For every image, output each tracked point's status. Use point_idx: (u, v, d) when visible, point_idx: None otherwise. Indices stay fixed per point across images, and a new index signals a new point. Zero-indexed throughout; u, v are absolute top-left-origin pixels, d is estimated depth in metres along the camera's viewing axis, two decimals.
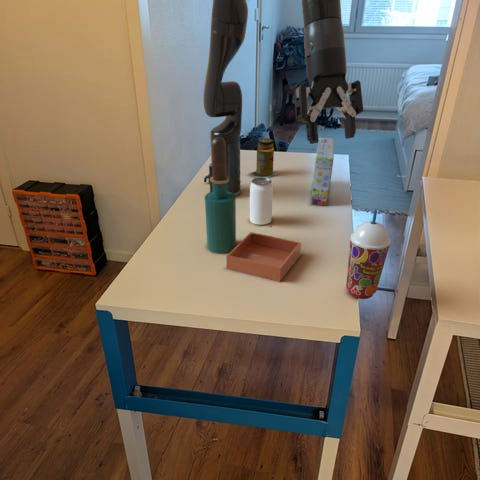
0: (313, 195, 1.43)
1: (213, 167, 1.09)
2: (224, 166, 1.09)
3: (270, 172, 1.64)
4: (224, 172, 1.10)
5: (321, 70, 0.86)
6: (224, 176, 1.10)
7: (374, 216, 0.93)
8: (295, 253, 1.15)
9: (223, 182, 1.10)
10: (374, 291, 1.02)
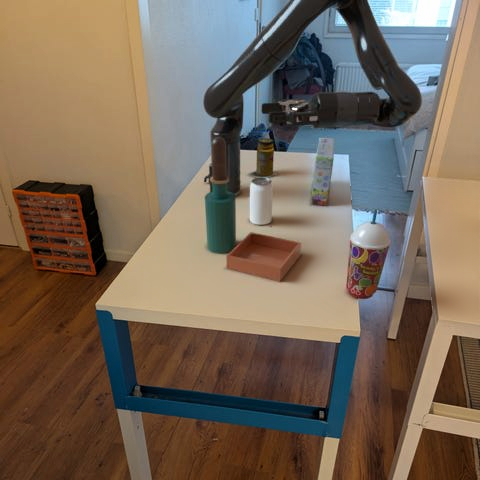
0: (313, 195, 1.43)
1: (213, 167, 1.09)
2: (224, 166, 1.09)
3: (270, 172, 1.64)
4: (224, 172, 1.10)
5: (320, 125, 1.05)
6: (224, 176, 1.10)
7: (374, 216, 0.93)
8: (295, 253, 1.15)
9: (223, 182, 1.10)
10: (374, 291, 1.02)
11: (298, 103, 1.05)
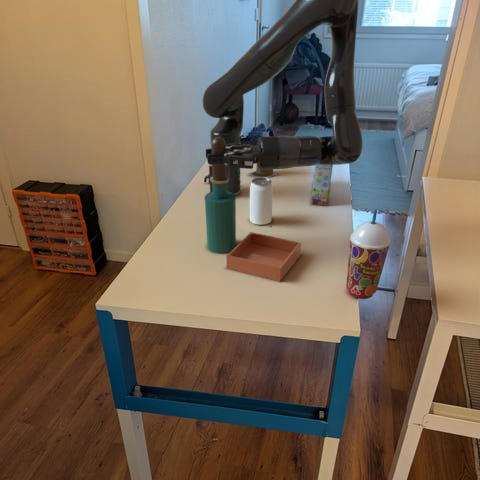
0: (313, 195, 1.43)
1: (213, 167, 1.09)
2: (224, 166, 1.09)
3: (270, 172, 1.64)
4: (224, 172, 1.10)
5: (264, 168, 1.09)
6: (224, 176, 1.10)
7: (374, 216, 0.93)
8: (295, 253, 1.15)
9: (223, 182, 1.10)
10: (374, 291, 1.02)
11: (244, 147, 1.09)
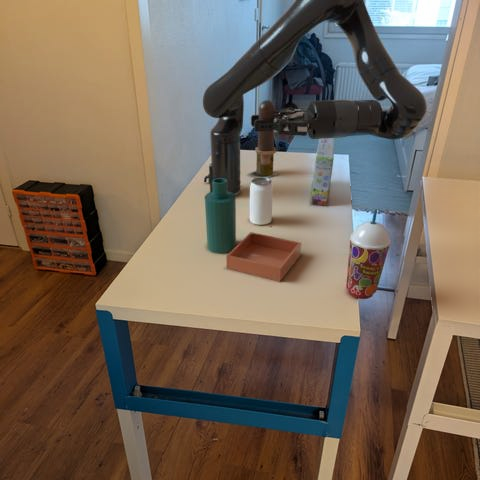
0: (313, 195, 1.43)
1: (260, 136, 0.97)
2: (272, 134, 0.97)
3: (270, 172, 1.64)
4: (272, 141, 0.98)
5: (317, 136, 0.97)
6: (271, 146, 0.98)
7: (374, 216, 0.93)
8: (295, 253, 1.15)
9: (270, 152, 0.98)
10: (374, 291, 1.02)
11: (294, 113, 0.97)
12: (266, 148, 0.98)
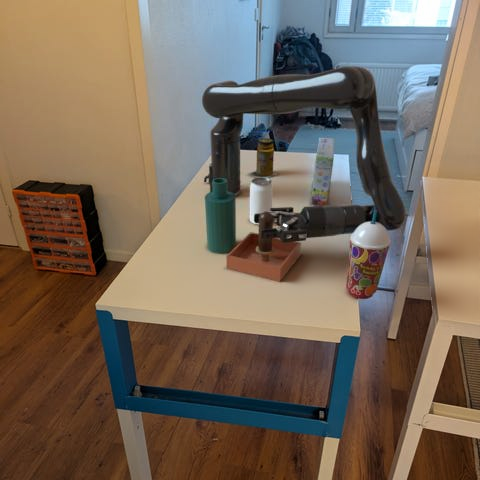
0: (313, 195, 1.43)
1: (260, 240, 1.12)
2: (270, 238, 1.11)
3: (270, 172, 1.64)
4: (270, 244, 1.12)
5: (309, 237, 1.11)
6: (270, 247, 1.13)
7: (374, 216, 0.93)
8: (295, 253, 1.15)
9: (269, 253, 1.13)
10: (374, 291, 1.02)
11: (288, 216, 1.11)
12: (265, 249, 1.12)
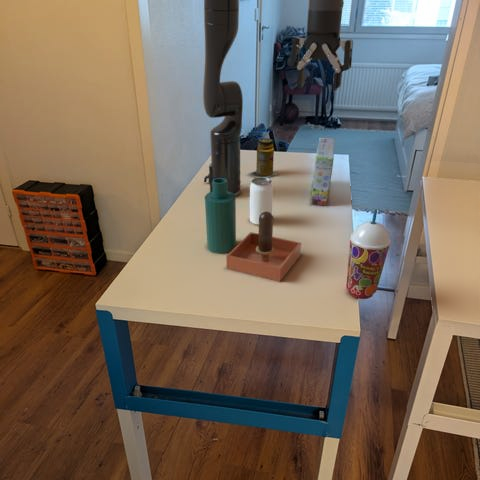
0: (313, 195, 1.43)
1: (260, 240, 1.12)
2: (270, 238, 1.11)
3: (270, 172, 1.64)
4: (270, 244, 1.12)
5: None
6: (270, 247, 1.13)
7: (374, 216, 0.93)
8: (295, 253, 1.15)
9: (269, 253, 1.13)
10: (374, 291, 1.02)
11: (314, 50, 1.06)
12: (265, 249, 1.12)
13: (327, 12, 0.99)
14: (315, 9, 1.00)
